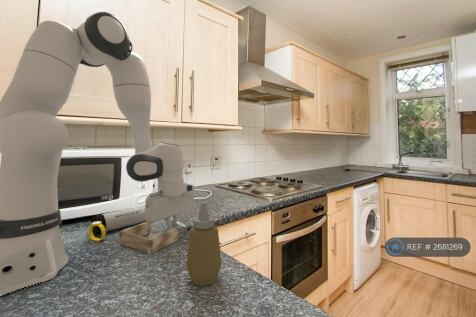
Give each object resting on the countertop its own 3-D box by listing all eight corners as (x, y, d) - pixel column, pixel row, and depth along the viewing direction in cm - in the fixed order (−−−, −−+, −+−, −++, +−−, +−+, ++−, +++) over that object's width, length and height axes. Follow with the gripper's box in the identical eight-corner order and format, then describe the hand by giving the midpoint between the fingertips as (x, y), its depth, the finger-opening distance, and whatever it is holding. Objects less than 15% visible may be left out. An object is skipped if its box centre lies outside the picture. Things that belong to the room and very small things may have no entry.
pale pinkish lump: (166, 237, 79) (151, 236, 79) (166, 228, 79) (151, 228, 79) (160, 243, 74) (145, 243, 74) (160, 234, 74) (144, 234, 74)
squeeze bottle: (201, 295, 49) (201, 210, 47) (179, 279, 54) (178, 203, 53) (228, 278, 55) (228, 202, 53) (206, 266, 60) (205, 197, 59)
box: (150, 254, 66) (149, 240, 66) (120, 243, 73) (119, 231, 73) (177, 240, 76) (177, 228, 76) (148, 232, 83) (148, 221, 83)
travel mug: (143, 220, 97) (89, 233, 82) (143, 204, 97) (88, 214, 82) (151, 223, 93) (95, 237, 78) (151, 206, 93) (95, 217, 78)
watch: (86, 241, 76) (85, 223, 75) (94, 238, 78) (92, 220, 78) (101, 242, 74) (99, 224, 74) (108, 239, 77) (106, 221, 76)
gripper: (152, 195, 71) (153, 240, 72) (197, 185, 88) (197, 220, 89) (139, 193, 74) (140, 235, 75) (184, 183, 92) (185, 217, 93)
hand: (171, 227), depth 82 cm, fingers closed
